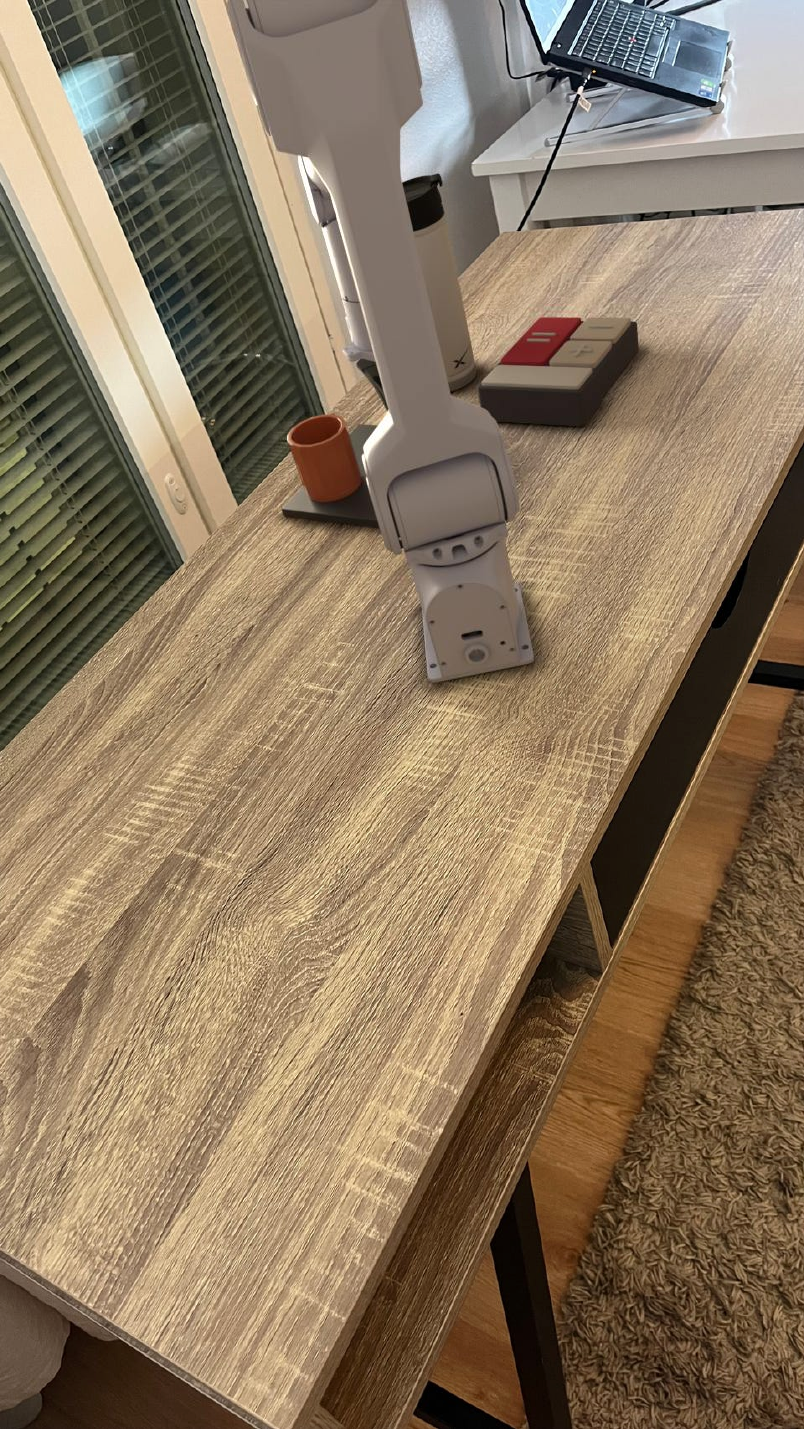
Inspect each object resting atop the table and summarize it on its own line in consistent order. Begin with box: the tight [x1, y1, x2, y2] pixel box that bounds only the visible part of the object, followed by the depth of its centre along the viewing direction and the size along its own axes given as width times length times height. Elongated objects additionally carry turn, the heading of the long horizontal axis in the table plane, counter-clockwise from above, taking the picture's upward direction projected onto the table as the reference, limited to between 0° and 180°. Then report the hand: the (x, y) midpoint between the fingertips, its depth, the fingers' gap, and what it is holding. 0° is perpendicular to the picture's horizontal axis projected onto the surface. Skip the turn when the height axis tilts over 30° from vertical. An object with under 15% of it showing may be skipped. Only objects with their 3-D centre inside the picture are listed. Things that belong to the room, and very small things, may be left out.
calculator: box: [476, 316, 640, 427], centre depth 106 cm, size 11×4×15 cm
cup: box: [286, 413, 362, 502], centre depth 100 cm, size 6×6×6 cm
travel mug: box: [402, 173, 478, 393], centre depth 107 cm, size 6×7×20 cm
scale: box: [281, 423, 380, 529], centre depth 103 cm, size 15×12×2 cm
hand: (408, 426), depth 102 cm, fingers closed, pressing on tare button
